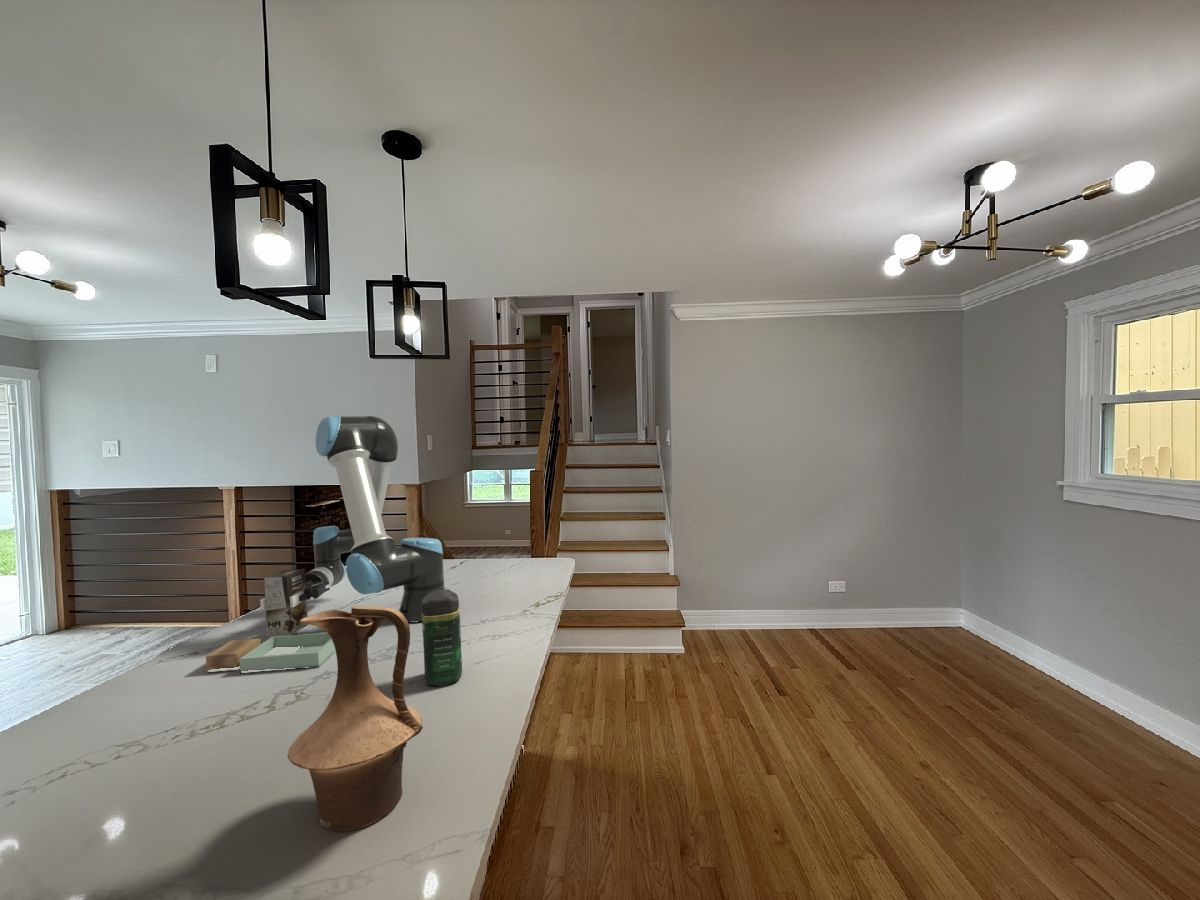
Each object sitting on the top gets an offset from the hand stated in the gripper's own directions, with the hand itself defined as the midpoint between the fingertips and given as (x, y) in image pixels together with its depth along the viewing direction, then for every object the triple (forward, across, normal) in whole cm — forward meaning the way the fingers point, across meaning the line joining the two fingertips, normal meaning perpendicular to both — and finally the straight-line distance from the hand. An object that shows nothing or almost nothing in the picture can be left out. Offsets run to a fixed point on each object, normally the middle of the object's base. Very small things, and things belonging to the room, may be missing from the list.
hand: (276, 603), depth 143 cm
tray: (+11, -9, -11) cm, 18 cm away
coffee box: (-5, 0, -9) cm, 11 cm away
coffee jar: (+30, -49, -12) cm, 59 cm away
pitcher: (+71, -46, -12) cm, 86 cm away
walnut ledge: (+11, +5, -11) cm, 16 cm away
